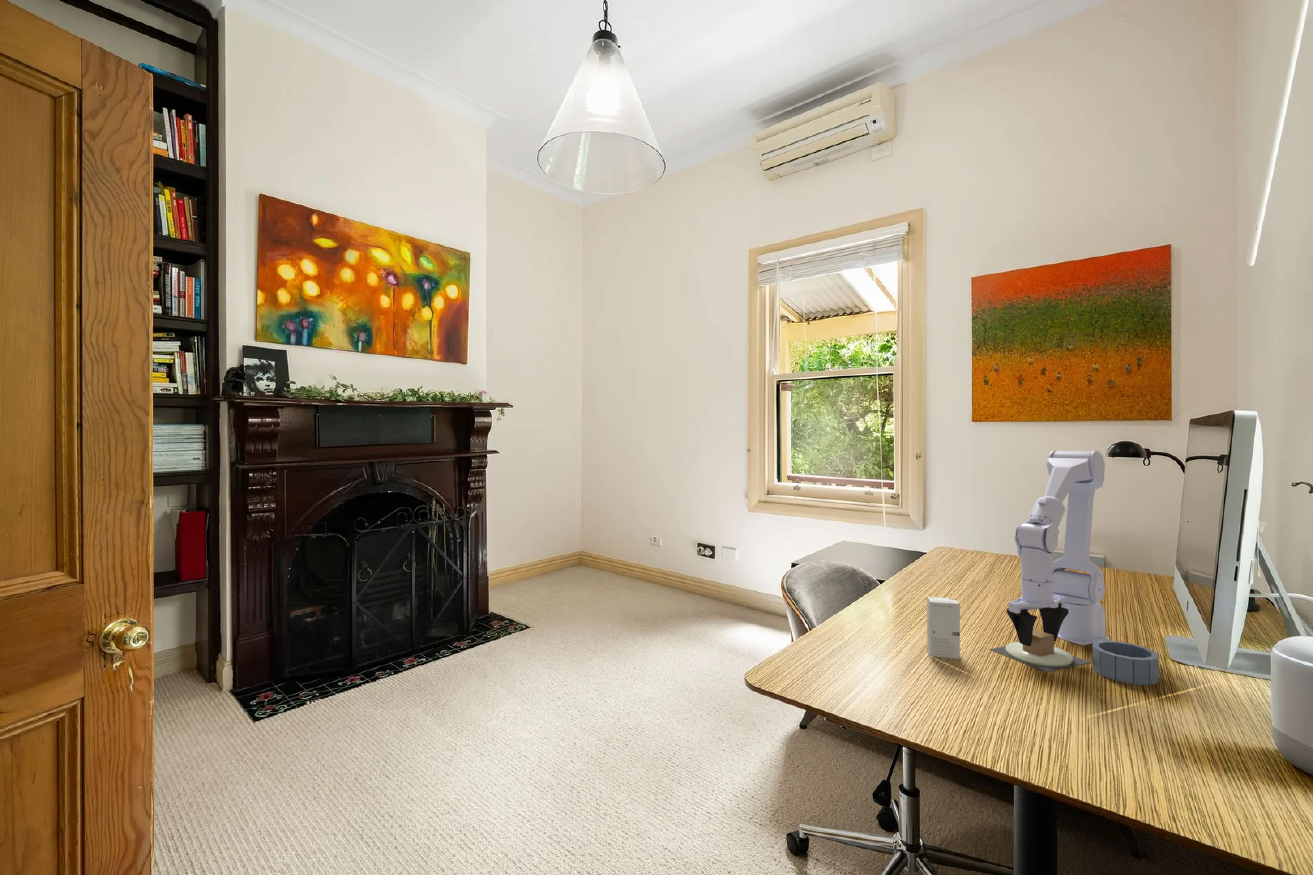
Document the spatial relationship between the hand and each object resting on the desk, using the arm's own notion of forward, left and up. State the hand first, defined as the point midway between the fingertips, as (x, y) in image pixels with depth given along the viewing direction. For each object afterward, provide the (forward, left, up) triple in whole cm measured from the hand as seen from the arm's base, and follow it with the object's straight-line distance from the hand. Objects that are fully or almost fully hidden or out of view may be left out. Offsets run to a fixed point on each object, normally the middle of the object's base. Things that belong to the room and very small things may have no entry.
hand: (1037, 642), depth 120 cm
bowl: (-7, +12, -3) cm, 15 cm away
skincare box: (+17, -9, -4) cm, 20 cm away
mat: (0, 0, -3) cm, 3 cm away
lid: (0, 0, -3) cm, 3 cm away
